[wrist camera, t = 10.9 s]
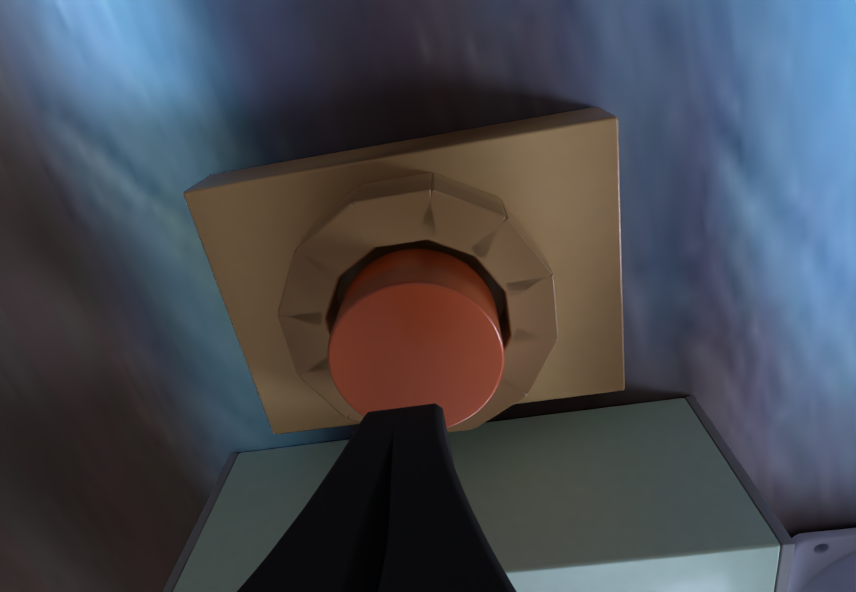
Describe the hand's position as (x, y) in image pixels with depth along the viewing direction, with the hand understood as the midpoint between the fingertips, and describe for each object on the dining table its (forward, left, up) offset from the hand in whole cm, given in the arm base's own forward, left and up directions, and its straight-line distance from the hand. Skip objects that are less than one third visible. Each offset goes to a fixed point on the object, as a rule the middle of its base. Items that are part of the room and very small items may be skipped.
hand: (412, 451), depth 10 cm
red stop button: (0, 0, -5) cm, 5 cm away
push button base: (0, 0, -8) cm, 8 cm away
